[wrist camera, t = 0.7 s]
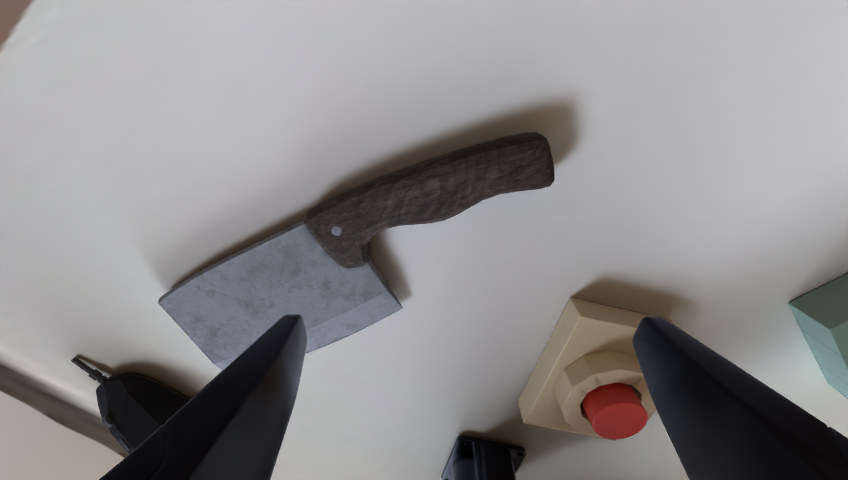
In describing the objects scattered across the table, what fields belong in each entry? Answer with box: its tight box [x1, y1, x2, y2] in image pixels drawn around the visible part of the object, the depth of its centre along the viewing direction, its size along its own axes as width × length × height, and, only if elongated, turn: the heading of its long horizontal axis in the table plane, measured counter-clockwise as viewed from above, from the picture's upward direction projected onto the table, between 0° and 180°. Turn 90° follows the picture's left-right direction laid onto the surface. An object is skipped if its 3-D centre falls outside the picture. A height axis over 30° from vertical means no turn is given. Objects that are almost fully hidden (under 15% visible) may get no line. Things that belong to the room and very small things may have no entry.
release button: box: [583, 382, 648, 439], centre depth 24 cm, size 4×4×2 cm
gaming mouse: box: [71, 357, 190, 454], centre depth 30 cm, size 6×15×4 cm, turn 44°
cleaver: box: [158, 132, 554, 370], centre depth 24 cm, size 29×10×2 cm, turn 119°
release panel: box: [518, 298, 673, 440], centre depth 27 cm, size 11×8×4 cm
